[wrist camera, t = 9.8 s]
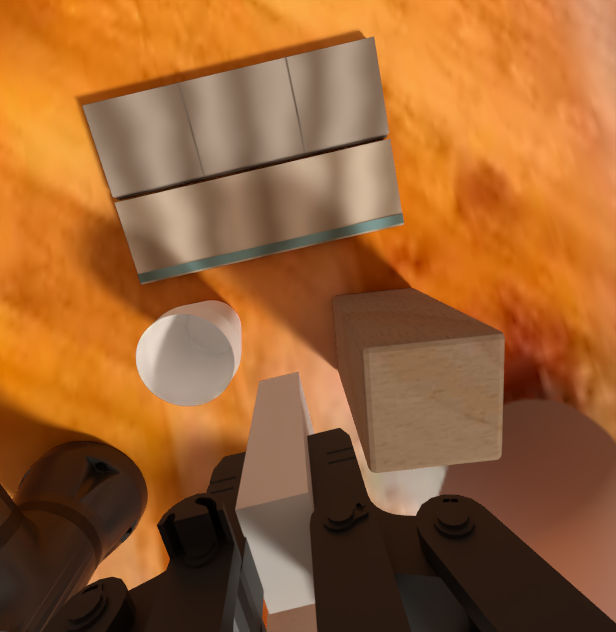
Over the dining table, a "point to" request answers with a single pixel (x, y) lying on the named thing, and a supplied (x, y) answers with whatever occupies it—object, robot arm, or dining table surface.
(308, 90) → the laid row
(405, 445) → the wooden block
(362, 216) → the plank
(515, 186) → the dining table surface
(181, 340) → the cup
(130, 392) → the dining table surface
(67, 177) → the dining table surface
